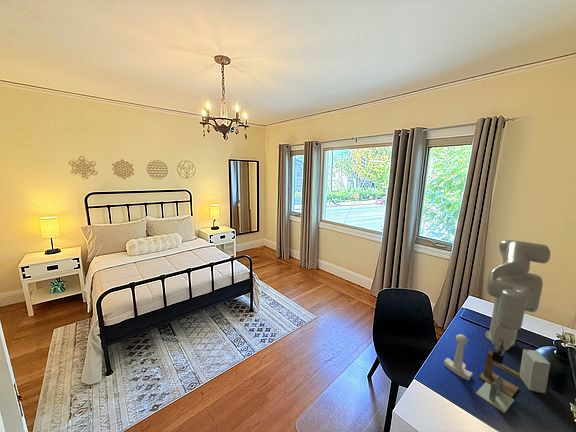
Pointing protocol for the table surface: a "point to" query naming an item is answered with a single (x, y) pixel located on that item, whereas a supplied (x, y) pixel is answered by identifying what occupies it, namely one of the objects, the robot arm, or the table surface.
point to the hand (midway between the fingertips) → (501, 356)
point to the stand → (490, 376)
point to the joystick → (459, 359)
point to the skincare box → (534, 370)
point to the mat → (501, 400)
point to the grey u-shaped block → (496, 388)
